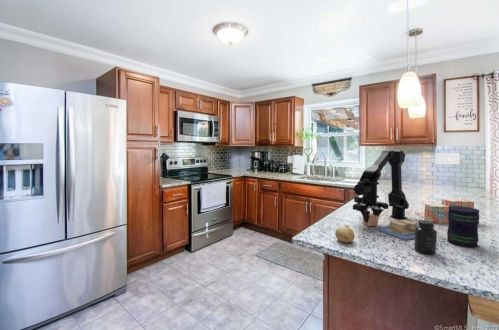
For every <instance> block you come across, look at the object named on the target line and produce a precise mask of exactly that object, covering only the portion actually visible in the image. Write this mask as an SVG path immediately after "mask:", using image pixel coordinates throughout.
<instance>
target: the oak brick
mask: <svg viewBox="0 0 499 330" xmlns="http://www.w3.org/2000/svg"><path fill="white" fill-rule="evenodd" d="M388 226H389V230H392V231H394V232H397V233H400V234H402V233H410V232H415V228H416V227H418V223H417V222H415V221H414V222H413V221H410V220H407V219H399V220H391V221H389V225H388Z"/></svg>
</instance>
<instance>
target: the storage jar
mask: <svg viewBox="0 0 499 330" xmlns="http://www.w3.org/2000/svg"><path fill="white" fill-rule="evenodd" d="M448 209H449V210H448V220H449V223H447V225H448V226H447V227H448V228H447V229H446V230H447V232H446V235H447V239H446V242H447V243H449V244H451V245H453V246H456V247H460V248H466V249H476V248H478V247H479V246H478V244H479V231H478V230H479V224H480V210H479V209H477V208H475V207H474V208H469V207H461V206H449V207H448Z"/></svg>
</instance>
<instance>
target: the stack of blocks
mask: <svg viewBox="0 0 499 330" xmlns="http://www.w3.org/2000/svg"><path fill="white" fill-rule="evenodd" d="M449 206H461V207H469V208H474V209H475V201H472V200H469V199H463V198H462V199H459V198H442V199H441V203H439V204H438V203H432V204H431V203H426V204H424V212H423V214H424V217H423V218H424V219H423V220H427V221H431V222H433V223H434V224H448V223H449V220H448V210H449V209H448V207H449Z"/></svg>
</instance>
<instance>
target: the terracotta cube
mask: <svg viewBox="0 0 499 330" xmlns="http://www.w3.org/2000/svg"><path fill="white" fill-rule="evenodd" d="M378 218H379V217H378V216H377V215H374V214H373V213H370V214H369V219H368V222H367V223H365V221H364V218H363V217H362V224H364V225H365V226H369V227H374V226H378V225H379V219H378Z"/></svg>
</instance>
